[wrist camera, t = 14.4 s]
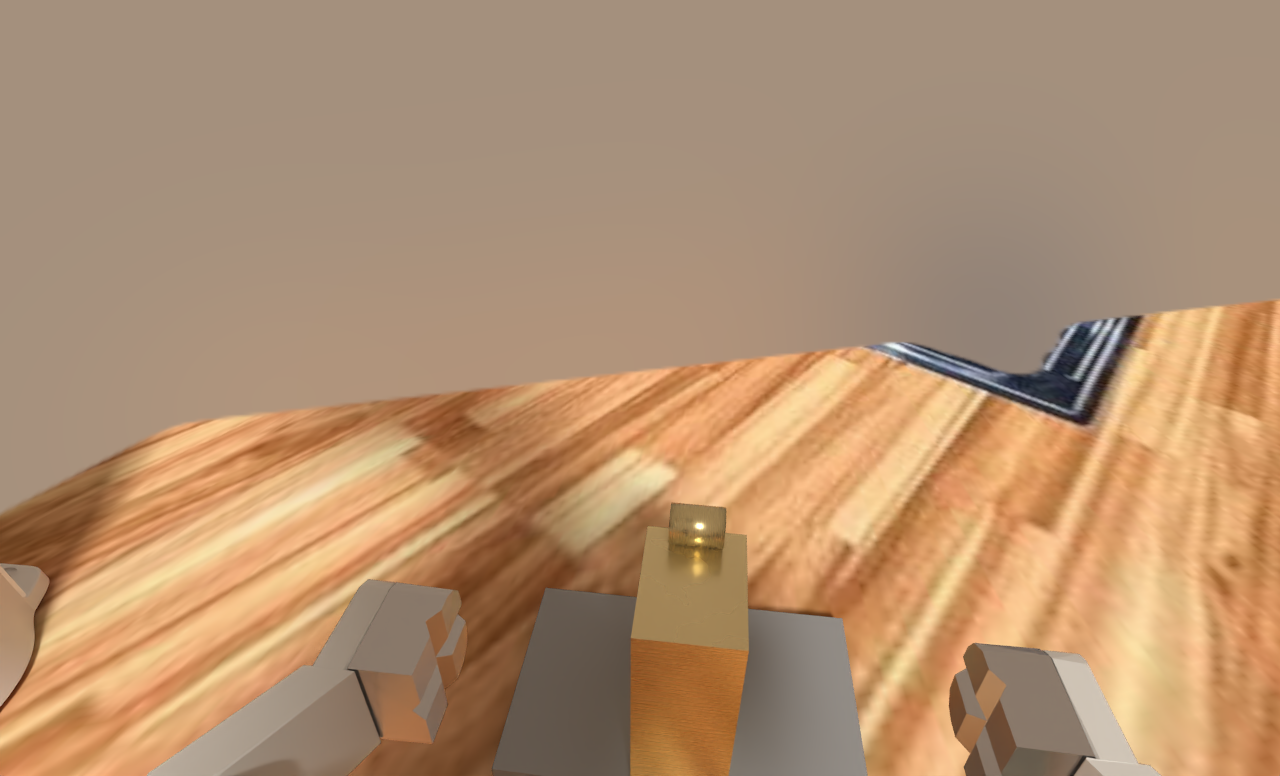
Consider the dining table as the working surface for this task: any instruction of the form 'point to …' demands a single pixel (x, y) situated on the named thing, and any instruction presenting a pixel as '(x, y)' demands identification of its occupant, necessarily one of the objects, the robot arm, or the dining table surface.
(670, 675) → the tan block
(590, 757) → the gray base plate
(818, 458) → the dining table surface
